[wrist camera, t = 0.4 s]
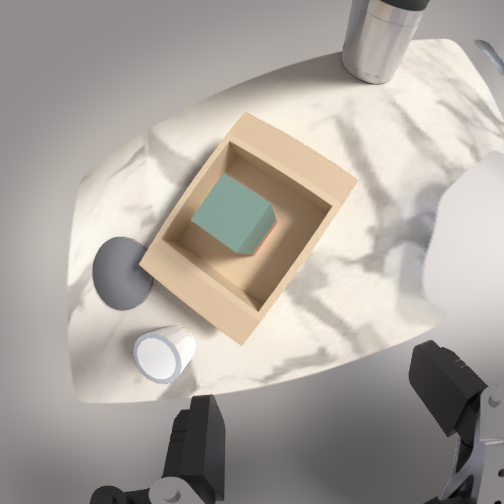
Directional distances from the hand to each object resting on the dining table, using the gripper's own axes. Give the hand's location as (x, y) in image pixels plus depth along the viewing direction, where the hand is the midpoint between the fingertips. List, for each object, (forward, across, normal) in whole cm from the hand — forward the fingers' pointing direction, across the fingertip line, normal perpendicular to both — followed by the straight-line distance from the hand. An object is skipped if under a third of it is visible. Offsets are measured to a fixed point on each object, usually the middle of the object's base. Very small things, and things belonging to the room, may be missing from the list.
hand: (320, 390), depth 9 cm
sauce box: (+27, +1, -2) cm, 27 cm away
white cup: (+25, +14, +13) cm, 32 cm away
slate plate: (+30, +22, +2) cm, 37 cm away
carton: (+28, +1, -1) cm, 28 cm away
